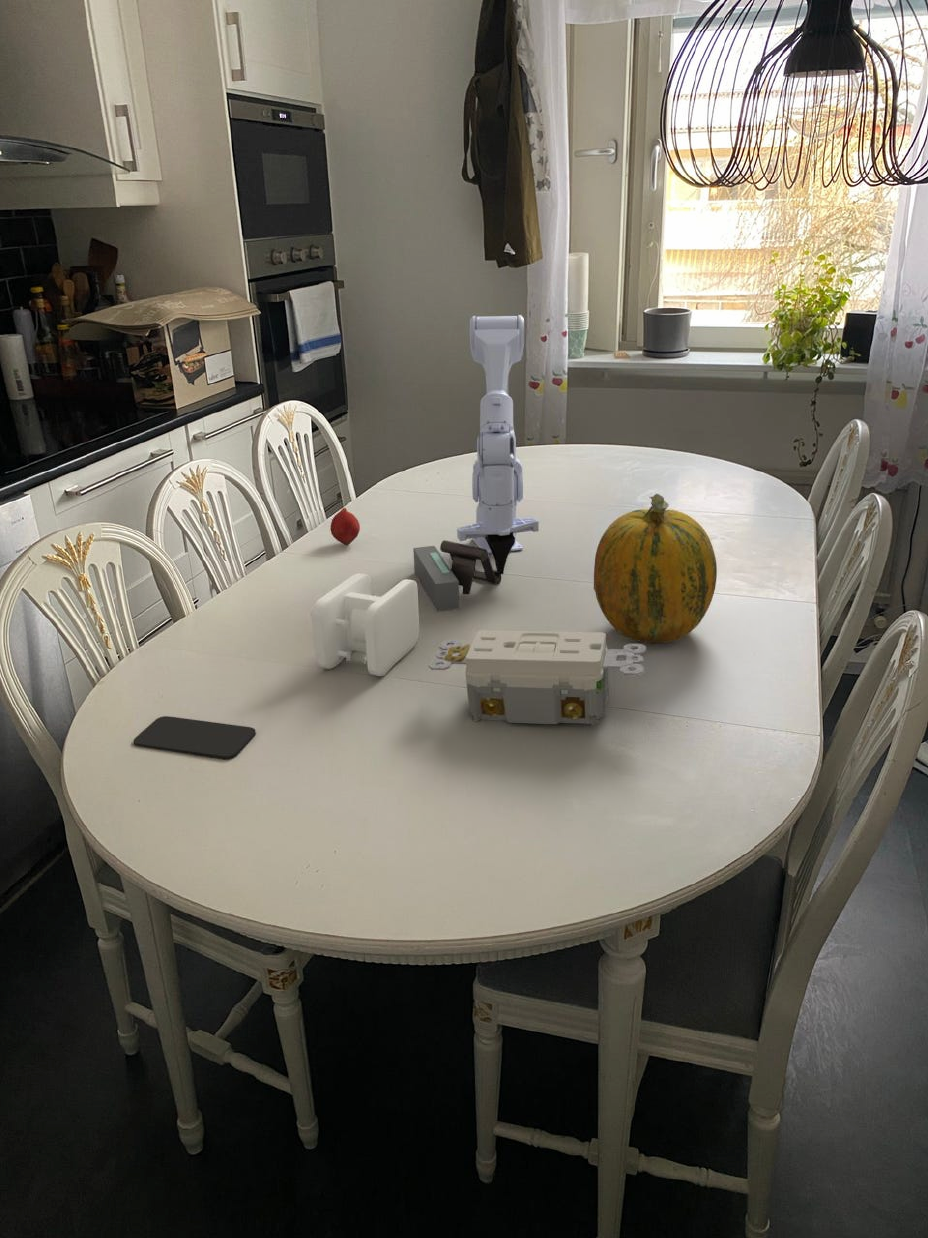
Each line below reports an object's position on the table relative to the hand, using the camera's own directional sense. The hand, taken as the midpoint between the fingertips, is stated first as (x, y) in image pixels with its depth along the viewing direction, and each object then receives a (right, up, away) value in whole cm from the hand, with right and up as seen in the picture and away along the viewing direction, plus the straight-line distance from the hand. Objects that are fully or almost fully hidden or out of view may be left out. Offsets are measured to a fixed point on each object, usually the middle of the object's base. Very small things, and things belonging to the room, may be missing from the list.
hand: (498, 572), depth 171 cm
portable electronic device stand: (-5, -3, 0) cm, 6 cm away
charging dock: (-11, -3, -2) cm, 12 cm away
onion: (-30, +6, +20) cm, 37 cm away
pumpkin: (+24, -11, -19) cm, 32 cm away
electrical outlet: (+4, -21, -40) cm, 45 cm away
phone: (-42, -25, -45) cm, 67 cm away
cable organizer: (-21, -15, -26) cm, 36 cm away
